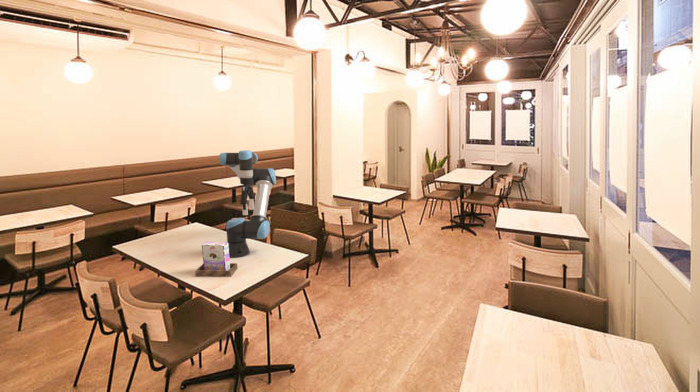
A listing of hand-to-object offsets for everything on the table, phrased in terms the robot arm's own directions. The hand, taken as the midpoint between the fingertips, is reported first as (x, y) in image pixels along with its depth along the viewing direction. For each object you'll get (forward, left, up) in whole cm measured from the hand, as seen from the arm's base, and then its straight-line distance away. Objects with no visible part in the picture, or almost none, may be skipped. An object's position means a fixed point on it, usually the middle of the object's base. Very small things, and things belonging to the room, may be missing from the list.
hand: (248, 212), depth 236 cm
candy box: (-9, -20, -31) cm, 38 cm away
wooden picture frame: (-9, -20, -32) cm, 39 cm away
